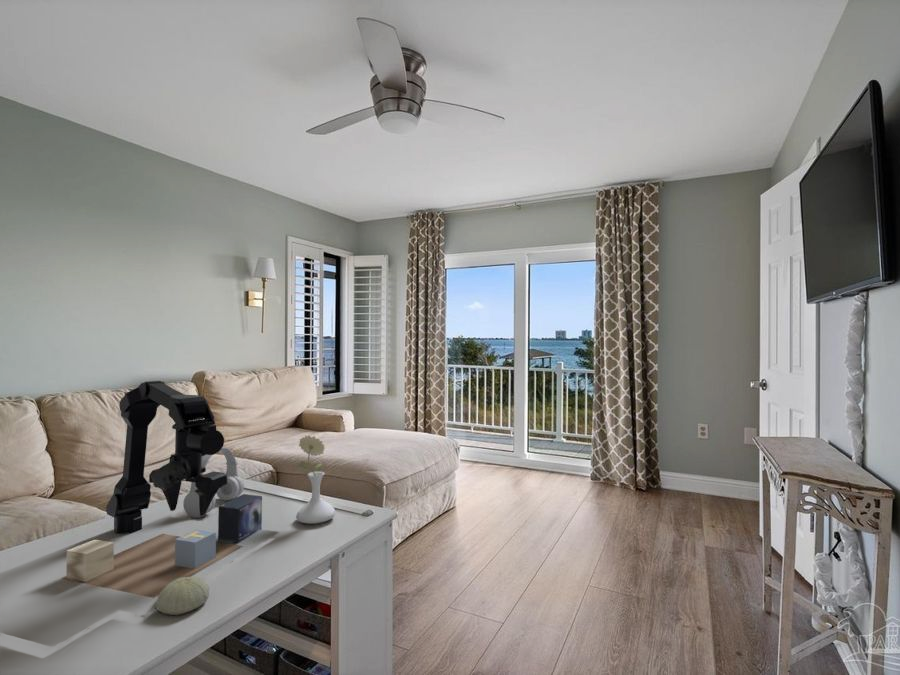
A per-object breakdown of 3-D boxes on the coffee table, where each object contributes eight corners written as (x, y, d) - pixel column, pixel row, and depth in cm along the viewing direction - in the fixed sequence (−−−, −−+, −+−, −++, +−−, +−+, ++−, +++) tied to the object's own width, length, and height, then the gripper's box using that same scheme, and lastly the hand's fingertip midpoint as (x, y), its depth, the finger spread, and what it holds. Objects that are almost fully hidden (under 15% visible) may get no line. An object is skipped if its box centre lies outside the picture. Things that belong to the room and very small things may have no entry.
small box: (238, 548, 118) (238, 508, 118) (216, 546, 120) (216, 506, 120) (263, 532, 129) (263, 494, 129) (242, 530, 130) (242, 493, 130)
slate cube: (195, 542, 105) (195, 568, 105) (215, 532, 111) (215, 557, 111) (175, 539, 107) (174, 565, 107) (196, 529, 113) (196, 554, 113)
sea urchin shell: (175, 615, 86) (159, 577, 89) (159, 635, 89) (145, 598, 92) (221, 592, 94) (205, 558, 97) (205, 612, 96) (190, 578, 100)
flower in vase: (343, 517, 139) (343, 435, 139) (314, 530, 129) (313, 441, 130) (314, 509, 146) (314, 430, 146) (284, 521, 136) (284, 437, 137)
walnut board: (60, 584, 101) (60, 578, 101) (162, 538, 125) (162, 533, 125) (154, 603, 93) (154, 597, 93) (243, 550, 117) (243, 546, 117)
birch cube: (66, 578, 101) (66, 550, 101) (94, 565, 107) (94, 539, 107) (85, 582, 99) (86, 554, 100) (113, 569, 105) (113, 542, 105)
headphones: (222, 496, 159) (222, 441, 160) (245, 497, 158) (245, 441, 158) (181, 518, 139) (181, 454, 140) (207, 519, 138) (207, 455, 139)
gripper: (128, 453, 107) (127, 520, 107) (191, 460, 101) (189, 531, 101) (170, 442, 117) (169, 503, 117) (229, 449, 112) (228, 513, 112)
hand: (187, 512), depth 112 cm, fingers open, 9 cm apart
